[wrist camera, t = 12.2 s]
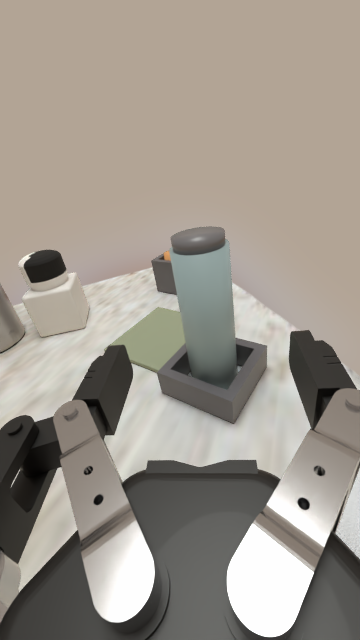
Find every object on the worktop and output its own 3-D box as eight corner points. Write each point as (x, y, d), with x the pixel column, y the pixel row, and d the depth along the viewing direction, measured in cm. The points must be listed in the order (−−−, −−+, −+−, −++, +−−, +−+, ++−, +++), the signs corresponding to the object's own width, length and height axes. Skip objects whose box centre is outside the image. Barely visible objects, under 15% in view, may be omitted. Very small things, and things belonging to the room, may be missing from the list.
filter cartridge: (184, 387, 30) (155, 243, 22) (205, 360, 34) (187, 226, 26) (226, 402, 28) (210, 244, 20) (245, 370, 31) (238, 225, 23)
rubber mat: (105, 352, 38) (104, 349, 38) (158, 309, 46) (157, 307, 46) (175, 379, 32) (174, 376, 31) (223, 324, 40) (223, 321, 39)
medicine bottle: (90, 307, 51) (66, 242, 44) (85, 328, 44) (56, 256, 38) (50, 316, 50) (20, 251, 44) (40, 338, 44) (3, 267, 38)
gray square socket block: (157, 291, 52) (151, 260, 49) (173, 279, 55) (168, 250, 52) (179, 295, 49) (174, 263, 46) (194, 283, 53) (190, 252, 49)
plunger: (166, 283, 52) (160, 254, 49) (173, 277, 53) (168, 249, 50) (176, 284, 50) (171, 255, 47) (184, 279, 52) (179, 250, 49)
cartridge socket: (162, 392, 30) (156, 372, 29) (201, 347, 36) (199, 328, 34) (233, 423, 26) (232, 401, 24) (266, 366, 31) (267, 345, 30)
